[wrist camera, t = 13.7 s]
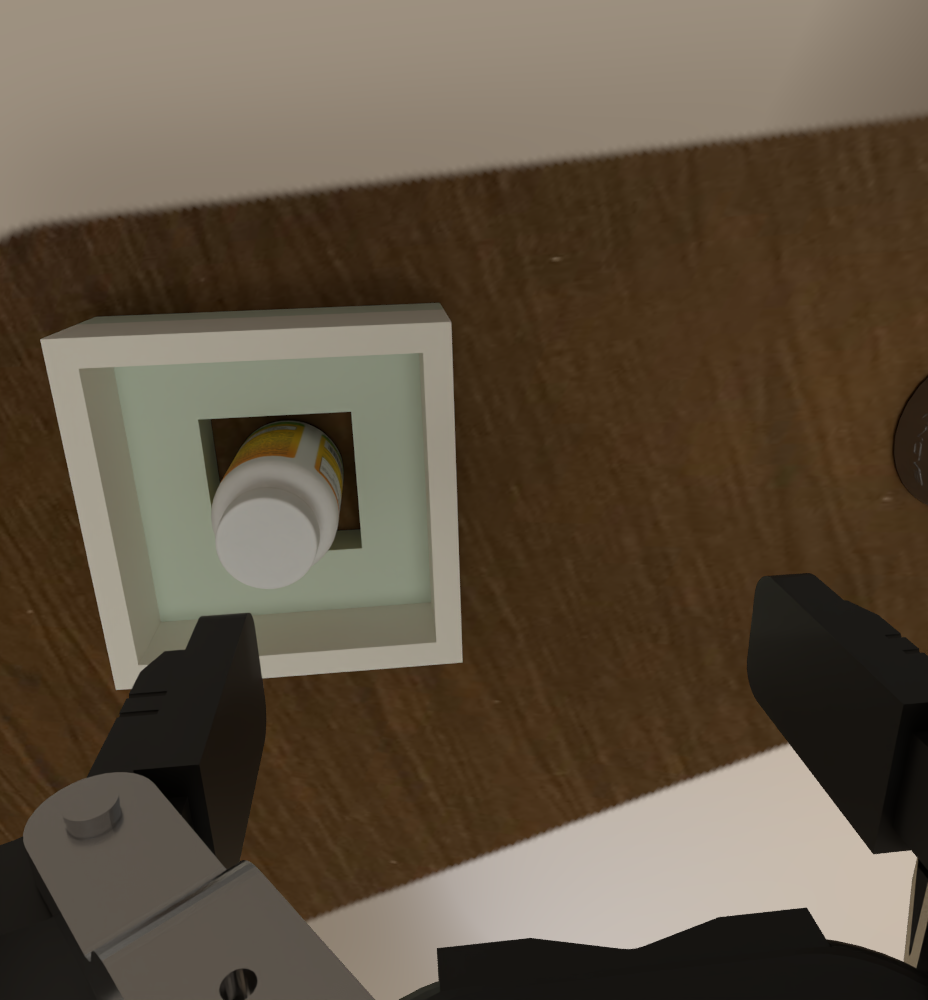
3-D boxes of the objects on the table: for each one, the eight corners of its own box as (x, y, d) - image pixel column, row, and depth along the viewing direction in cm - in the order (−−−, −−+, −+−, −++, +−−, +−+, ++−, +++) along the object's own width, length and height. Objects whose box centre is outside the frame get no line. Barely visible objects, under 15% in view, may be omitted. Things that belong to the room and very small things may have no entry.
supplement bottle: (218, 488, 40) (171, 570, 31) (266, 398, 39) (232, 456, 30) (313, 536, 42) (296, 627, 33) (363, 450, 40) (359, 520, 31)
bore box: (439, 302, 38) (451, 321, 32) (450, 598, 44) (462, 662, 38) (95, 316, 37) (40, 339, 31) (153, 620, 42) (115, 690, 36)
